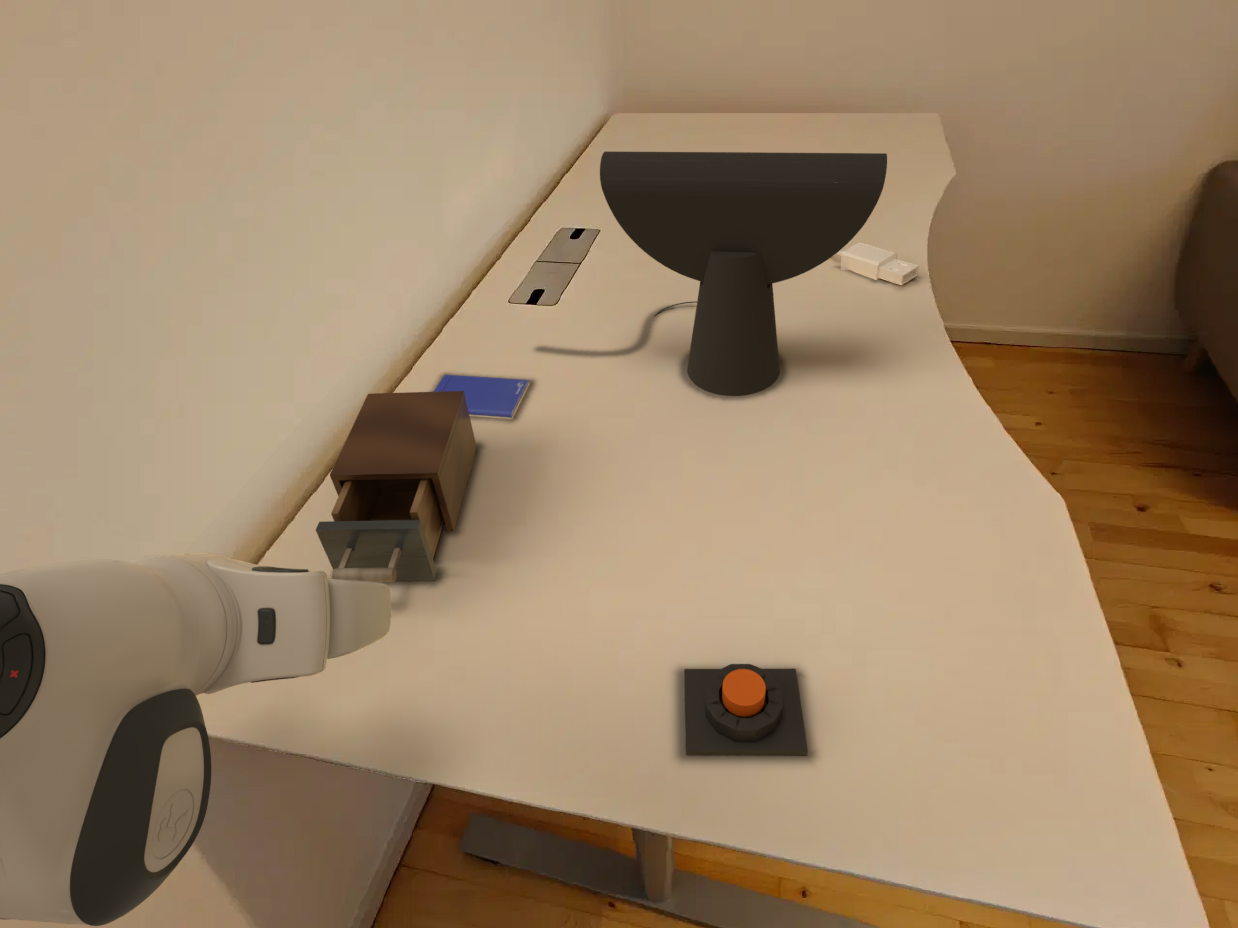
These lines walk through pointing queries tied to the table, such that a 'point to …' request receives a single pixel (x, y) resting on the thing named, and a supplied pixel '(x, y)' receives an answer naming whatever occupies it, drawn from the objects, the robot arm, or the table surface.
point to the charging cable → (877, 264)
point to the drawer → (383, 531)
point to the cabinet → (412, 444)
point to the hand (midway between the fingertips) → (292, 602)
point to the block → (734, 735)
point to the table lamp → (740, 239)
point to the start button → (743, 693)
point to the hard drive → (487, 394)
